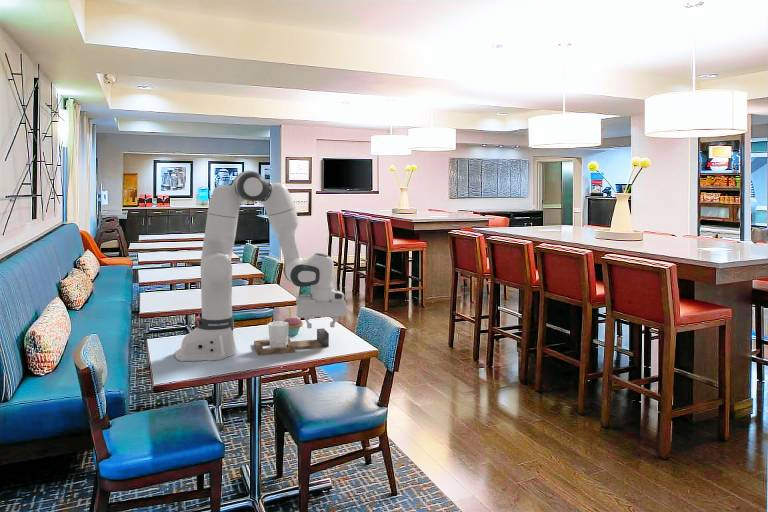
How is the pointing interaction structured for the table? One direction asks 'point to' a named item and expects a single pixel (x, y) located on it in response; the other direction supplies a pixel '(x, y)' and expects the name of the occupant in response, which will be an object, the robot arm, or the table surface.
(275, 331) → the white cup
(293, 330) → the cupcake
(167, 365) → the table surface
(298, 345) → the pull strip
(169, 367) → the table surface
